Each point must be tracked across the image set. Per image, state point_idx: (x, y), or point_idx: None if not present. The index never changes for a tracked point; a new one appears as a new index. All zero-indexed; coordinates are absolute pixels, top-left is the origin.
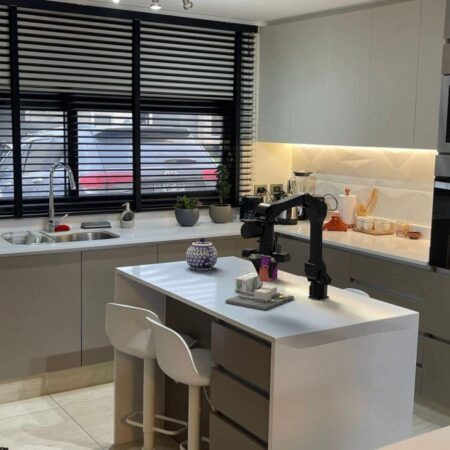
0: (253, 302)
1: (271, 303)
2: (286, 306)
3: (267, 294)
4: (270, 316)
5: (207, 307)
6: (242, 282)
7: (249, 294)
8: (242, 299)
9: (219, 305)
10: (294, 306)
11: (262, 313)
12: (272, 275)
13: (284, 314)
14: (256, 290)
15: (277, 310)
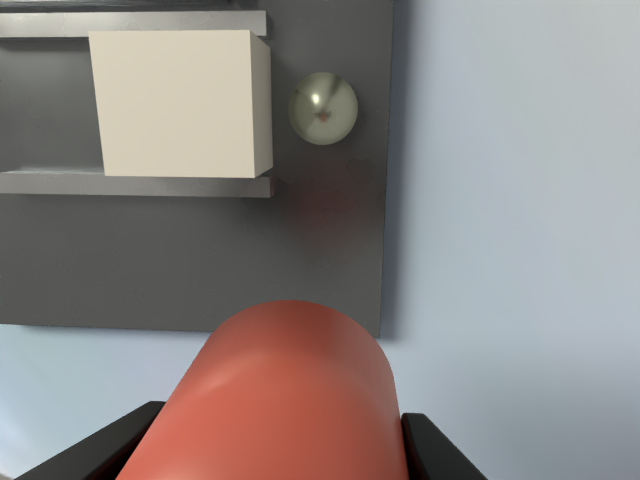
0: (207, 257)
1: (356, 189)
2: (471, 90)
3: (259, 125)
4: (489, 436)
5: (7, 476)
6: None
7: (2, 39)
8: (71, 227)
9: (25, 393)
10: (541, 38)
11: (399, 402)
12: (451, 446)
13: (564, 334)
14: (110, 143)
15: (460, 263)
